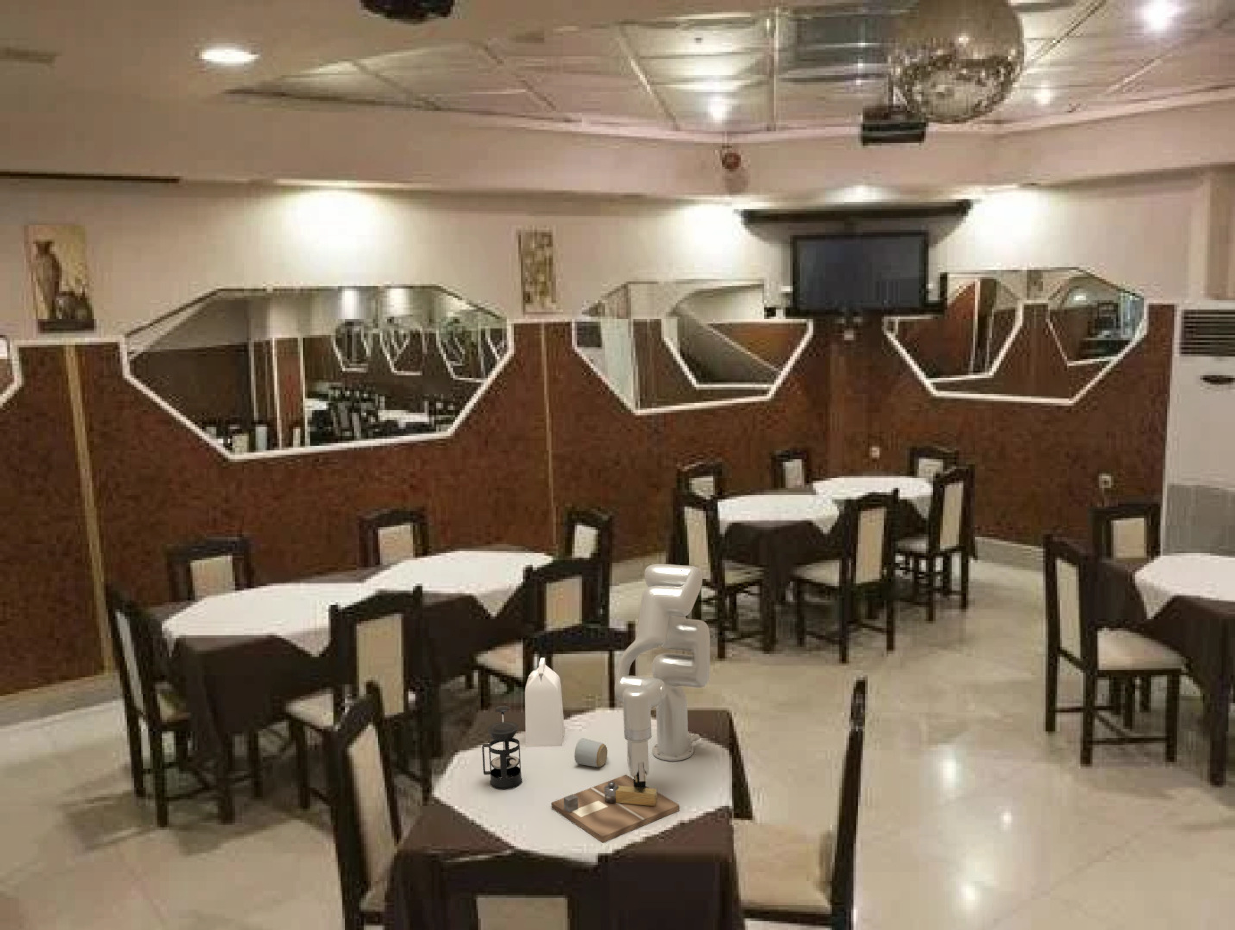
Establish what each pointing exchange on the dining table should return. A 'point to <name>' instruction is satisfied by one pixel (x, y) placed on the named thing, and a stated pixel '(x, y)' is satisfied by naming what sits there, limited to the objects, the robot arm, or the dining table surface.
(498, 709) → the french press
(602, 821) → the board
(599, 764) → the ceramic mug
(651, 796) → the bar
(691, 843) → the dining table surface
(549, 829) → the dining table surface
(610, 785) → the pin cap
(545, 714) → the milk
